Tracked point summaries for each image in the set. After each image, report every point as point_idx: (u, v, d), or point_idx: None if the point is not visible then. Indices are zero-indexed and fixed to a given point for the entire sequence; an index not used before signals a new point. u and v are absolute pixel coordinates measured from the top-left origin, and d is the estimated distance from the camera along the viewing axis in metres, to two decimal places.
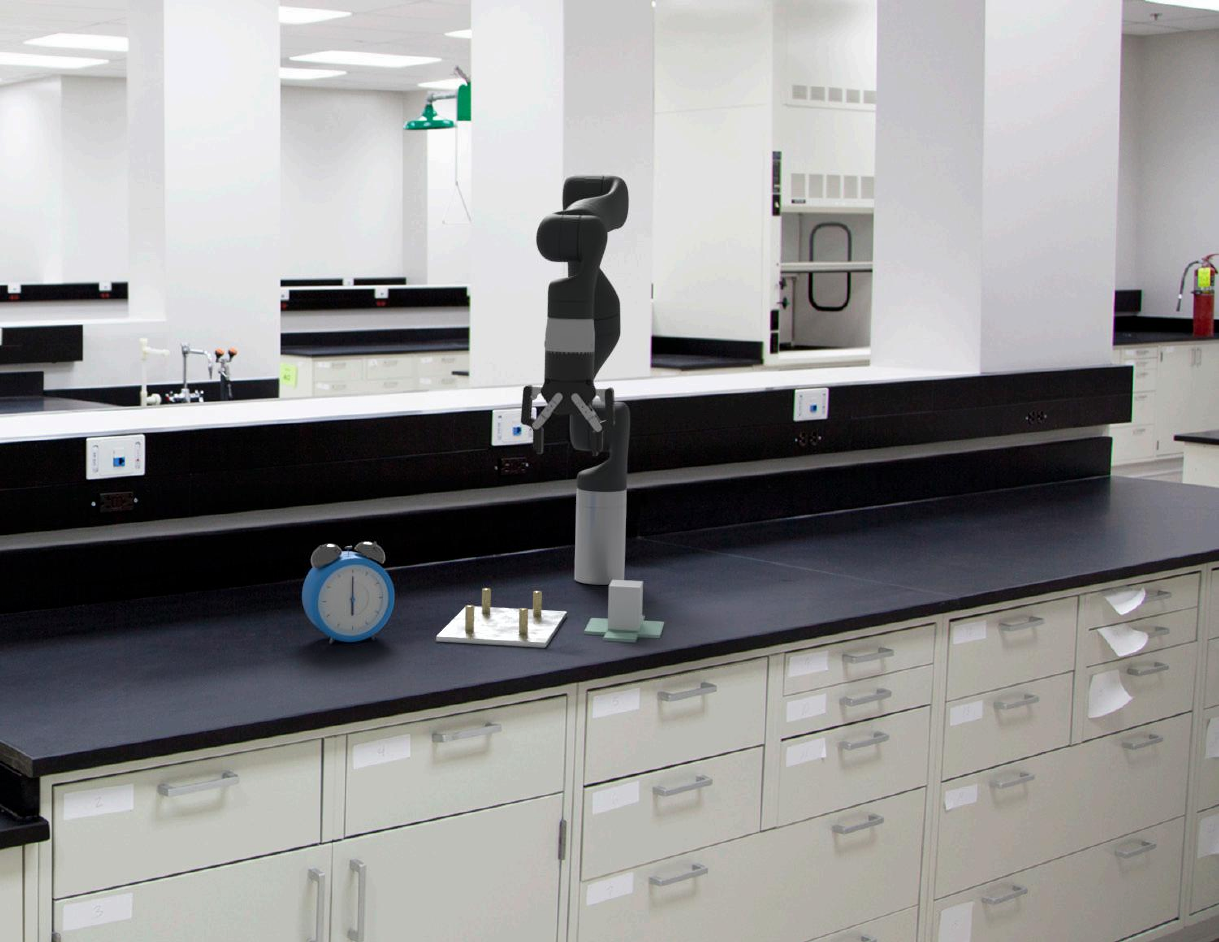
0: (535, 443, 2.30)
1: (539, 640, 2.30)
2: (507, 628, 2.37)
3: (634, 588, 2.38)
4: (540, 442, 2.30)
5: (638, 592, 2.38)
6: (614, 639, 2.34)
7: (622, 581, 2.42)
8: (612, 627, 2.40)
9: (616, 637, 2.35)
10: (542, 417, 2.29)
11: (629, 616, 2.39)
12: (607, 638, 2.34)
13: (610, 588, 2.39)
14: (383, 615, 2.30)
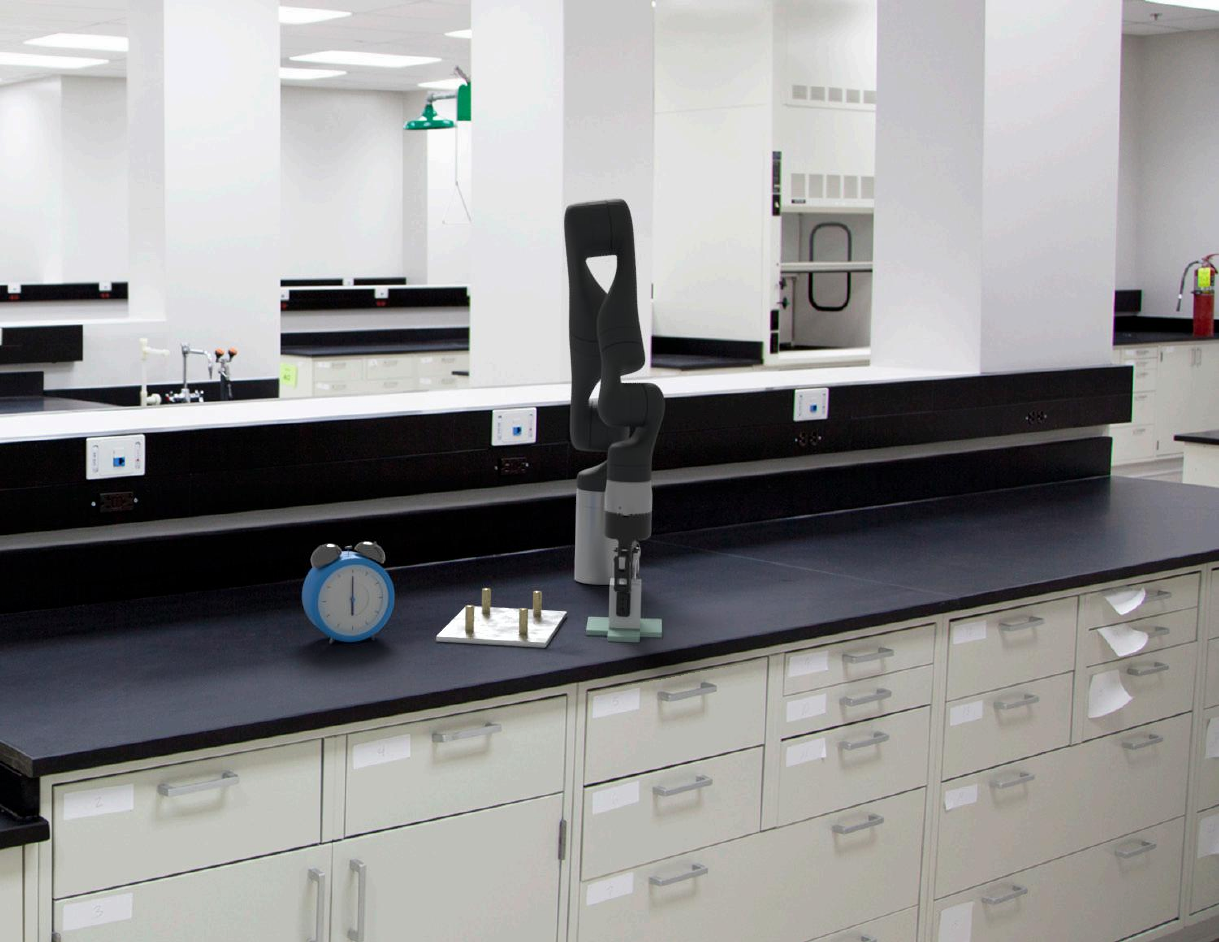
0: (627, 607, 2.38)
1: (539, 640, 2.30)
2: (507, 628, 2.37)
3: (635, 586, 2.38)
4: (630, 605, 2.39)
5: (639, 590, 2.38)
6: (618, 637, 2.34)
7: (621, 579, 2.42)
8: (613, 625, 2.39)
9: (620, 635, 2.34)
10: None
11: (630, 614, 2.39)
12: (611, 637, 2.34)
13: (611, 586, 2.39)
14: (383, 615, 2.30)
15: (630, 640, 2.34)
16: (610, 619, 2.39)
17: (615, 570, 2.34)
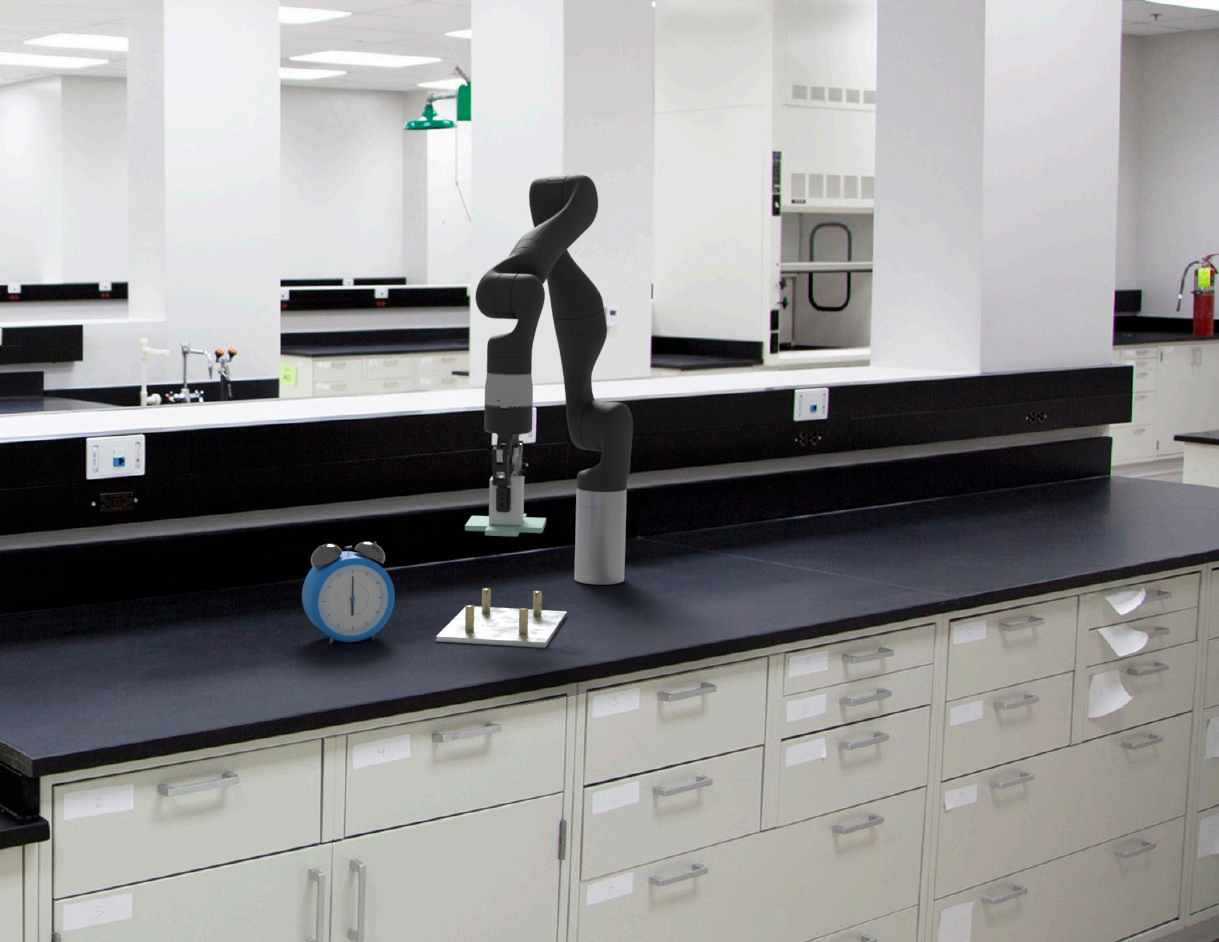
0: (507, 502, 2.34)
1: (539, 640, 2.30)
2: (507, 628, 2.37)
3: (515, 481, 2.35)
4: (510, 500, 2.35)
5: (519, 485, 2.35)
6: (496, 531, 2.30)
7: (503, 476, 2.39)
8: (493, 522, 2.36)
9: (498, 530, 2.31)
10: (511, 474, 2.34)
11: (511, 510, 2.35)
12: (489, 531, 2.30)
13: (491, 482, 2.35)
14: (383, 615, 2.30)
15: (508, 534, 2.30)
16: (490, 515, 2.35)
17: (493, 463, 2.30)
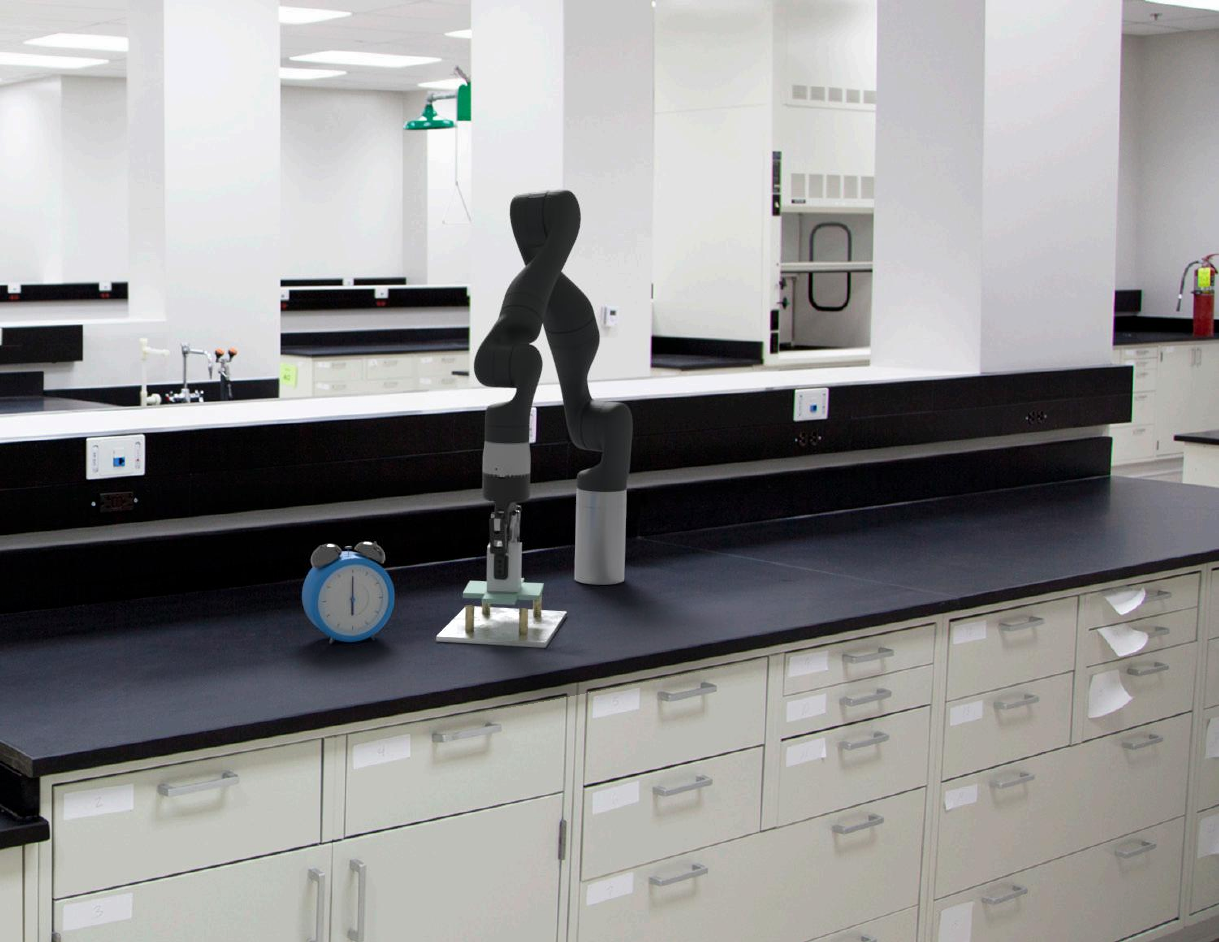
0: (504, 570, 2.35)
1: (539, 640, 2.30)
2: (507, 628, 2.37)
3: (513, 549, 2.36)
4: (507, 567, 2.36)
5: (517, 553, 2.36)
6: (493, 600, 2.32)
7: (501, 542, 2.40)
8: (491, 589, 2.37)
9: (495, 598, 2.32)
10: (509, 542, 2.36)
11: (508, 577, 2.37)
12: (486, 599, 2.32)
13: (488, 549, 2.36)
14: (383, 615, 2.30)
15: (505, 602, 2.32)
16: (488, 582, 2.37)
17: (490, 532, 2.32)
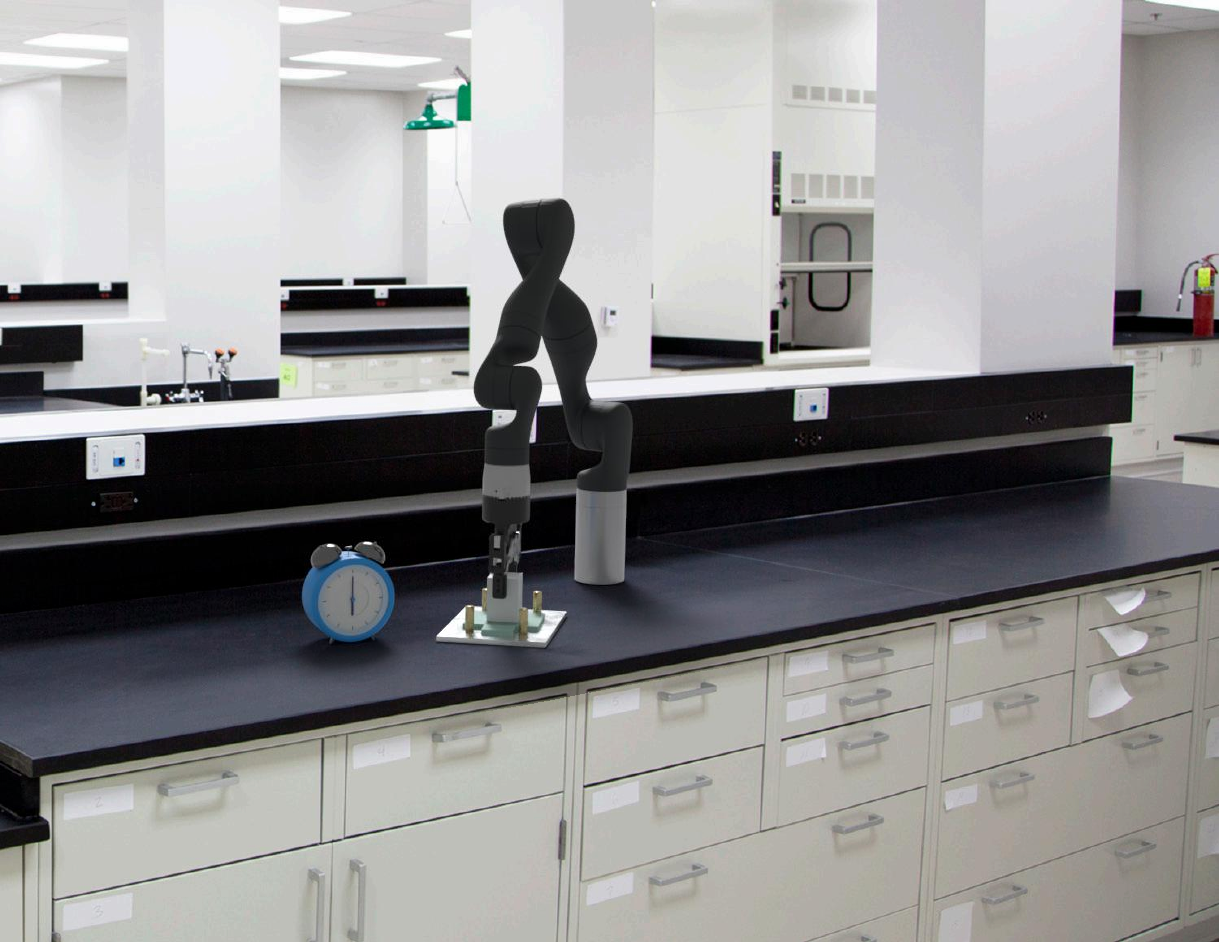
0: (503, 589, 2.35)
1: (539, 640, 2.30)
2: None
3: (513, 580, 2.37)
4: (506, 586, 2.35)
5: (517, 584, 2.37)
6: (492, 631, 2.33)
7: None
8: (491, 619, 2.38)
9: (494, 629, 2.33)
10: (508, 562, 2.35)
11: (508, 608, 2.37)
12: (485, 630, 2.33)
13: (488, 580, 2.37)
14: (383, 615, 2.30)
15: (504, 634, 2.32)
16: (488, 613, 2.38)
17: (490, 549, 2.32)
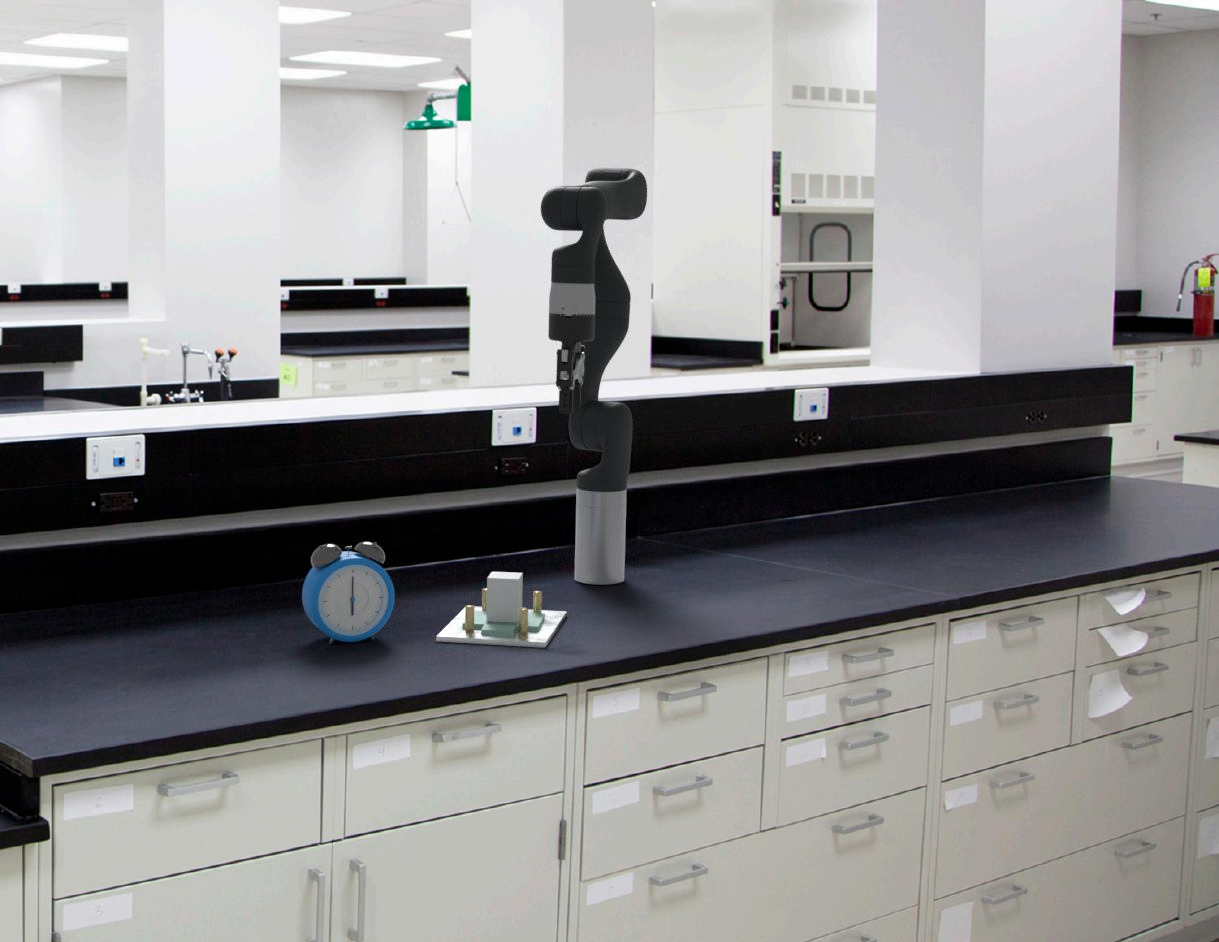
0: (569, 403, 2.41)
1: (539, 640, 2.30)
2: None
3: (513, 580, 2.37)
4: (572, 402, 2.42)
5: (517, 584, 2.37)
6: (492, 631, 2.33)
7: (501, 573, 2.41)
8: (491, 619, 2.38)
9: (494, 629, 2.33)
10: (574, 378, 2.42)
11: (508, 608, 2.37)
12: (485, 630, 2.33)
13: (488, 580, 2.37)
14: (383, 615, 2.30)
15: (504, 634, 2.32)
16: (488, 613, 2.38)
17: (558, 362, 2.39)
